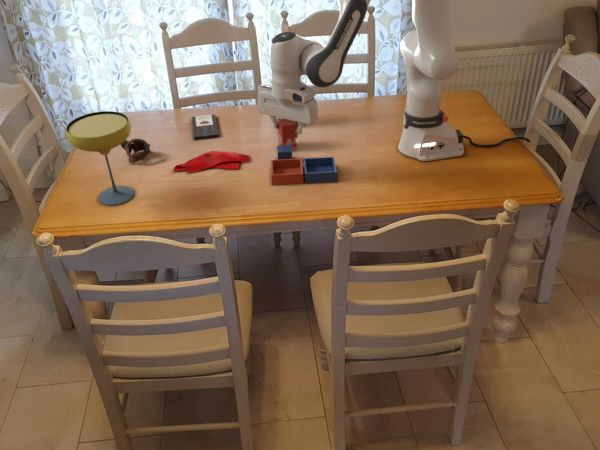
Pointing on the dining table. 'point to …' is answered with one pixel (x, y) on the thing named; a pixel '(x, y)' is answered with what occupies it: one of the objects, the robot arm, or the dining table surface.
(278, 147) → the blue block
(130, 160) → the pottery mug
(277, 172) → the terracotta bin
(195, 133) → the chocolate bar
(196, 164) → the cloth
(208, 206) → the dining table surface
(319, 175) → the blue bin
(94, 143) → the cocktail glass
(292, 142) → the beverage can
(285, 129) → the red block
